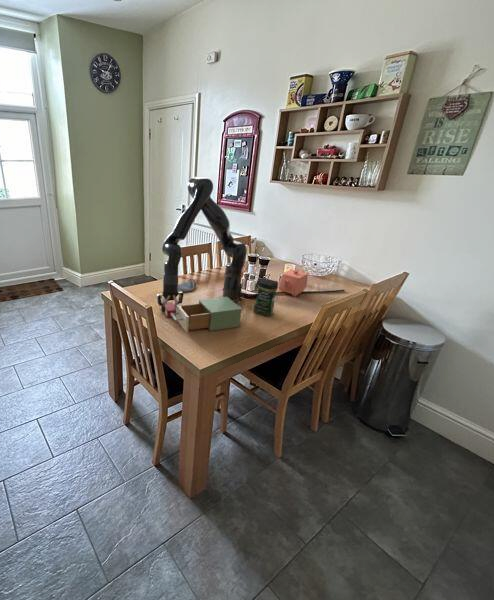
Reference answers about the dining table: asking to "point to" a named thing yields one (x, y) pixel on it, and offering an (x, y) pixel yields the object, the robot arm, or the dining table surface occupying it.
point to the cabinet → (222, 313)
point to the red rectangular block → (170, 309)
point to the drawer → (192, 316)
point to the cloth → (186, 286)
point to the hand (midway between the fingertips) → (169, 311)
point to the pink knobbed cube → (293, 282)
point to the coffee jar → (265, 296)
